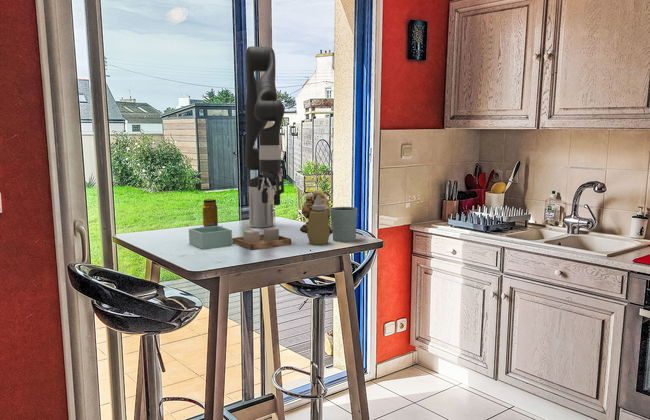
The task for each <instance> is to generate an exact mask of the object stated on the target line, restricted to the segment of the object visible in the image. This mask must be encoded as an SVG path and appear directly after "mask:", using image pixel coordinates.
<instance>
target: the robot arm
mask: <svg viewBox="0 0 650 420" xmlns="http://www.w3.org/2000/svg"><path fill="white" fill-rule="evenodd" d="M245 72H246V73H245V74H246V102H245V103H246V104H245V126H246V127H245V128H246V130H245V133H246V134H245V137H246V138H245V149H244V150H245V151H244V166H245V169H246V170H248V171H259V172H260V173H258V174H257V176H255V177H253V178H250V179H249V180H248V203H249V205H248V206H249V208H248V209H249V215H248V216H249V217H248V218H249V227H250V228H259V229H260V228H261V229H262V228H271V227H272V226H274V206H280V205H281V195H282V194H284V193H285V181H284V175H279V172H281V171H282V169H281V168H282V167H281V166H282V159H281V158H282V156H281V155H282V154H281V152H282V151H281V139H280V138H281V137H280V136H281V135H280V134H281V128H282V122H283V119H284V116H285V110H286V109H285V105H284V103H283V102H282V101H281V100H278V94H277V88H276V54H275V50H274V48H273V47H269V46H256V45H255V46H253V45H252V46H247V48H246V52H245ZM255 72H264V73H263V74H262V75H261V76H260V77H259V79H258V80H257V79H256V75H255ZM269 122H274V123H273V124H272V126H269V127H266V126H267V124H268V123H269ZM258 137H259V147H258V148H255V143H256V141H257V139H258ZM272 192H273V203H272V199H271V198H272V197H271V196H272V194H271V193H272ZM273 205H274V206H273Z"/></svg>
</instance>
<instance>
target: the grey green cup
mask: <svg viewBox="0 0 650 420" xmlns="http://www.w3.org/2000/svg"><path fill="white" fill-rule="evenodd" d="M329 208H330V207H329ZM330 217H331V229H332V231H333V232H332V234H331V236H332V240H333V241H334V242H336V243H337V242H339V243H351V242H356V240H357V220H358V219H357V218H358V208H357V207H354V206H334V207H331V208H330Z"/></svg>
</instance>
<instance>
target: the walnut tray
mask: <svg viewBox="0 0 650 420" xmlns="http://www.w3.org/2000/svg"><path fill="white" fill-rule="evenodd" d="M232 245H236V246H238V247H241V248H244V249H246V250H250V251H256V250H257V251H258V250H262V249H270V248H276V247H284V246H290V245H291V246H292V238H290V237H286V236H282V235H279V240H276V241H269V242H264V233H261V234H260V243H254V244H251V243H248V242H245V241H244V236H239V237H232Z"/></svg>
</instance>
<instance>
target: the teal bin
mask: <svg viewBox="0 0 650 420" xmlns="http://www.w3.org/2000/svg"><path fill="white" fill-rule="evenodd" d="M220 226H221V225H218V226H211V227H203V226H202V227H194V228H192V227H191V228H189V229H188V242H189V245H191V246H194V247H195V248H199V249H200V250H206V249H214V248H221V247H223V248H224V247H228V246H230V247H231V246H233V244H232V238H233V232H232V231H233V230H232V229H230V228H226V227H224V226H223V227H220Z"/></svg>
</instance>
